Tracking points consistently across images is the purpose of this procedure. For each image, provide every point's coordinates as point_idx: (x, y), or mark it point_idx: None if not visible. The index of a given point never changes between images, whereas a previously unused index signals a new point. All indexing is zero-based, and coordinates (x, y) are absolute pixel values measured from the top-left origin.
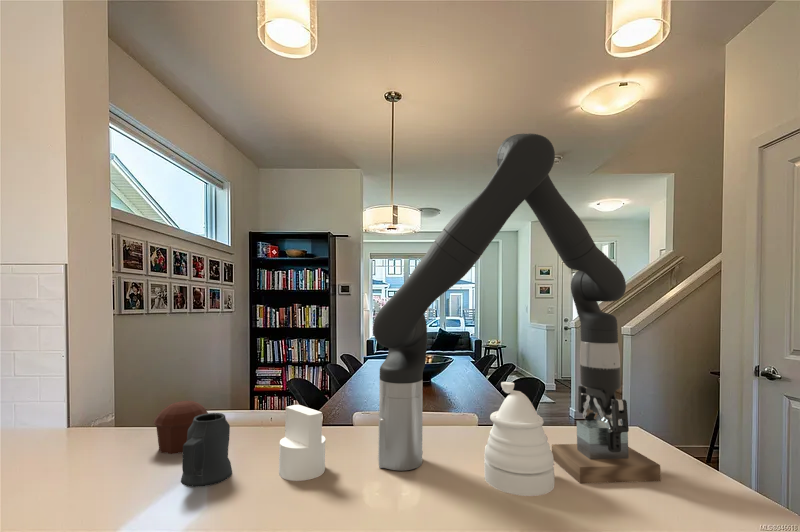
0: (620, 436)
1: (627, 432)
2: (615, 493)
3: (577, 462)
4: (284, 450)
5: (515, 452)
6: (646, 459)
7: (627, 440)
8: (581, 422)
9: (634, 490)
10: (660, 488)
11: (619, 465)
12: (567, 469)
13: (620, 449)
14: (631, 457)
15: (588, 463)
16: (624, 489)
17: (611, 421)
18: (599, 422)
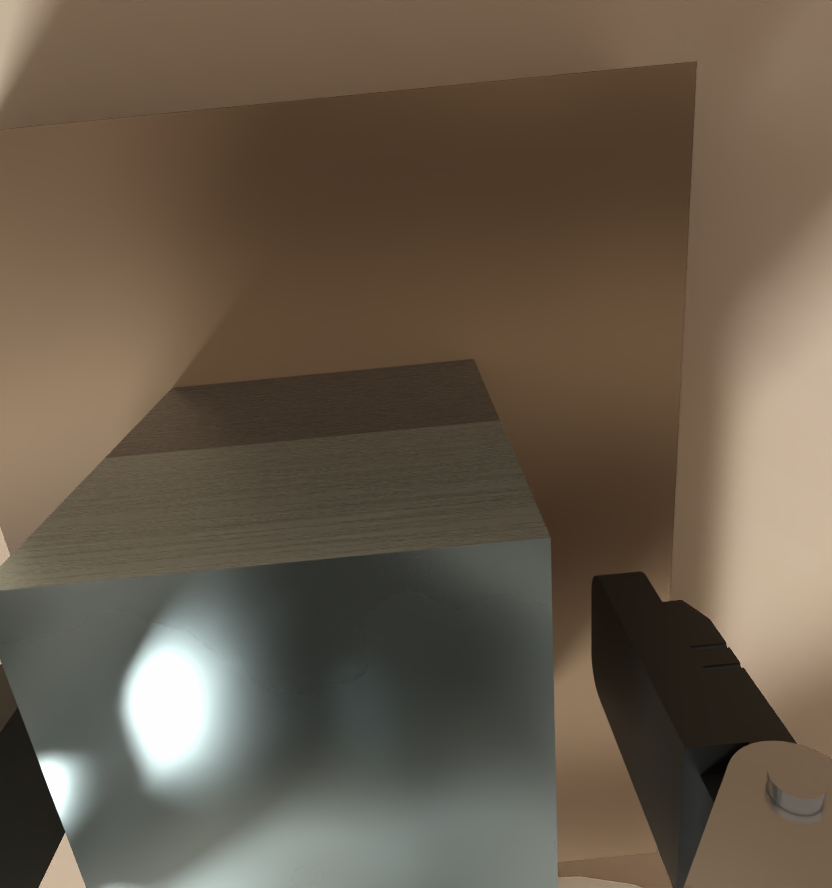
0: (784, 732)
1: (527, 492)
2: (786, 595)
3: (564, 841)
4: None
5: None
6: (510, 143)
7: (502, 439)
8: None
9: (766, 441)
10: (768, 190)
11: (659, 547)
12: None
13: (690, 608)
14: (443, 307)
15: (588, 773)
16: (738, 507)
17: (99, 660)
18: (224, 882)
